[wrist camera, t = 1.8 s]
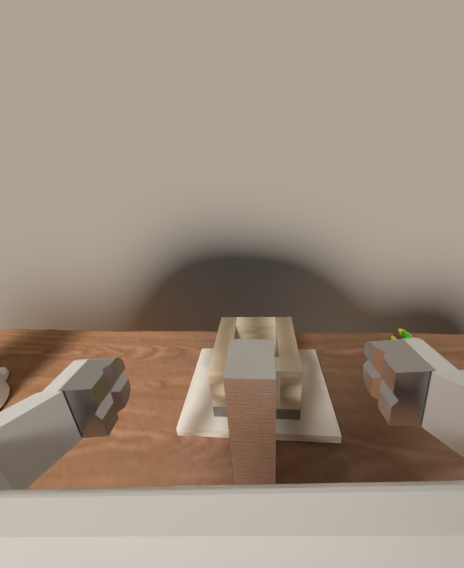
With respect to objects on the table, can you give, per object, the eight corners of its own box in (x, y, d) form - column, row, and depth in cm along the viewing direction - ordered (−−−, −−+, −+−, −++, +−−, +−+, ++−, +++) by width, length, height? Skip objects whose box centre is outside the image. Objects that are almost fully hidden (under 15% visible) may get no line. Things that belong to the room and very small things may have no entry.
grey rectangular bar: (235, 499, 26) (223, 378, 20) (239, 450, 31) (230, 339, 24) (275, 502, 26) (276, 379, 19) (273, 452, 30) (273, 339, 24)
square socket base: (177, 435, 33) (165, 381, 29) (202, 353, 48) (197, 311, 44) (340, 443, 31) (349, 386, 27) (314, 355, 45) (318, 310, 42)
